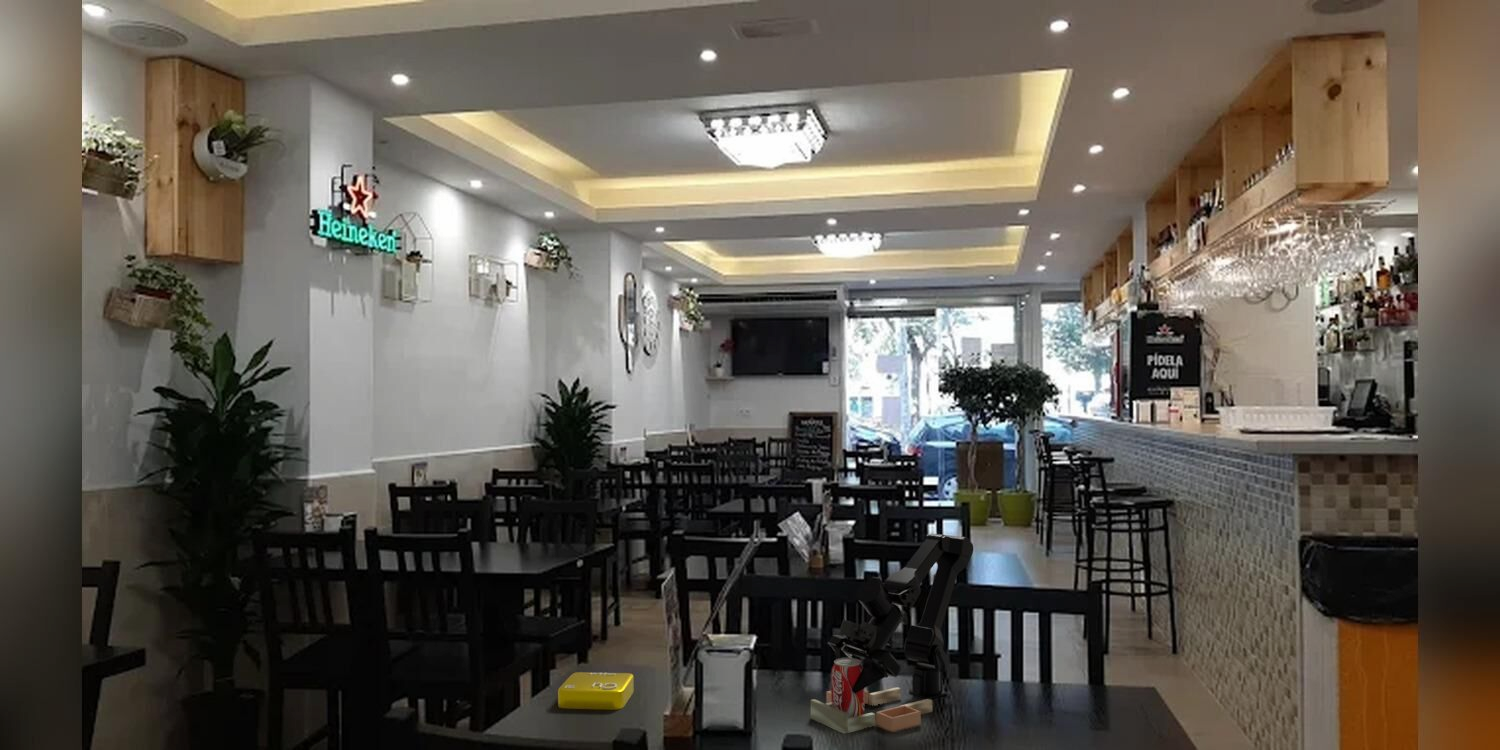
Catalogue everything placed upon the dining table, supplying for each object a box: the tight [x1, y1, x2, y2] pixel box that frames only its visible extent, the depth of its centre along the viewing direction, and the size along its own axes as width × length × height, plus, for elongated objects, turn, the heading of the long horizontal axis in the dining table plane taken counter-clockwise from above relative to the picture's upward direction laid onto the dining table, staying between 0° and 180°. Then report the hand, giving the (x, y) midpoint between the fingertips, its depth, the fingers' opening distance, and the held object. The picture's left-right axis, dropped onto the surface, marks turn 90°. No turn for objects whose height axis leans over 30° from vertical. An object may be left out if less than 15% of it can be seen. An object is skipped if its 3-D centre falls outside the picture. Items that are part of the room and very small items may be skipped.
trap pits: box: [825, 689, 922, 734], centre depth 212 cm, size 8×22×3 cm, turn 34°
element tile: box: [557, 671, 635, 711], centre depth 224 cm, size 15×15×5 cm
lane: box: [810, 686, 933, 735], centre depth 212 cm, size 25×11×4 cm, turn 124°
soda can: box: [830, 658, 865, 718], centre depth 208 cm, size 7×7×12 cm
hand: (842, 687), depth 208 cm, fingers closed on soda can, 7 cm apart
